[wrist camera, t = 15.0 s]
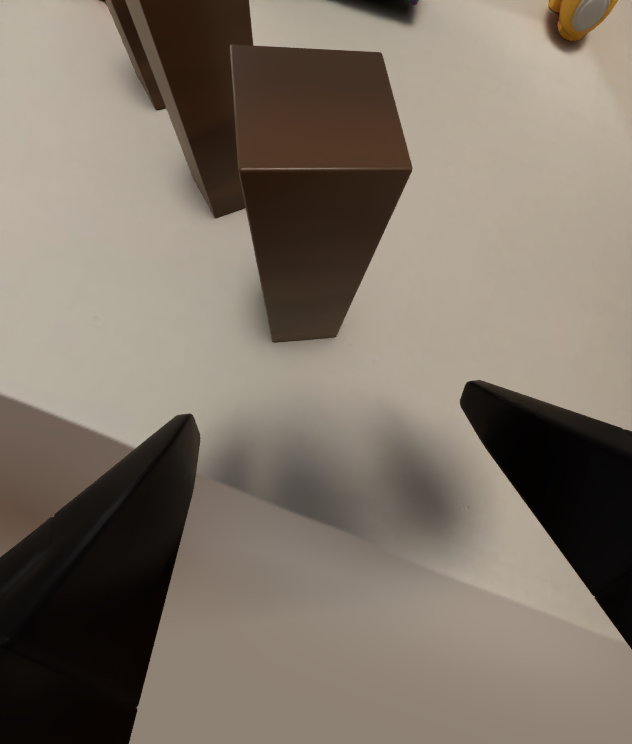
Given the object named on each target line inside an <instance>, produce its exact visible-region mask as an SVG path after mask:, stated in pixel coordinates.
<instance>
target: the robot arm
mask: <svg viewBox="0 0 632 744" xmlns="http://www.w3.org/2000/svg"><path fill="white" fill-rule="evenodd" d="M460 405H461V408H462V410H463V411H464V413H465V415H466V417H467V418H468V420H469V422H470V423H471V425H472V427H473V428H474V430H475V432H476V433H477V435H478V437H479V439H480V440H481V442H482V443H483V445H484V446H485V448H486V449H487V451H488V452H489V453H490V455H491V456H492V458H493V459H494V460H495V462H496V463H497V464H498V466H499V467H500V469H501V470H502V471H503V473H504V474H505V475H506V477H507V478H508V480H509V481H510V482H511V484H512V485H513V486H514V488H515V489H516V491H517V492H518V493H519V495H520V496H521V497H522V499H523V500H524V502H525V503H526V504H527V506H528V507H529V508H530V510H531V511H532V512H533V514H534V515H535V517H536V518H537V519H538V521H539V522H540V523H541V525H542V526H543V528H544V529H545V530H546V532H547V533H548V534H549V536H550V537H551V539H552V540H553V541H554V543H555V544H556V545H557V547H558V548H559V550H560V551H561V552H562V554H563V555H564V556H565V558H566V559H567V561H568V562H569V563H570V565H571V566H572V567H573V569H574V570H575V572H576V573H577V574H578V576H579V577H580V578H581V580H582V581H583V582H584V584H585V585H586V587H587V588H588V589H589V591H590V592H591V593H592V595H593V596H595V599H596V601H597V602H598V604H599V605H600V606H601V608H602V609H603V610H604V612H605V613H606V615H607V616H608V617H609V619H610V620H611V621H612V623H613V624H614V626H615V627H616V628H617V630H618V631H619V632H620V634H621V635H622V637H623V638H624V639H625V641H626V642H627V643H628V645H629V646H630V648H631V649H632V431H629V430H623V429H622V428H620V427H617V426H614V425H611V424H608V423H605V422H602V421H599V420H596V419H593V418H590V417H587V416H585V415H582V414H579V413H576V412H573V411H570V410H567V409H564V408H561V407H558V406H555V405H552V404H549V403H546V402H543V401H540V400H537V399H535V398H532V397H529V396H526V395H523V394H520V393H517V392H514V391H511V390H508V389H505V388H502V387H499V386H496V385H493V384H490V383H487V382H485V381H481V380H475V381H469V382H467V383H466V385H465V387H464V390H463V393H462V396H461V399H460ZM199 447H200V433H199V430H198V427H197V424H196V422H195V419H194V417H193V415H192V414H182V415H177V416H175V417H174V418H173V419H172V420H170V421H169V422H168V423H167V424H165V425H164V426H163V427H162V428H160V429H159V430H158V431H157V432H155V433H154V434H153V435H152V436H151V437H149V438H148V439H147V440H146V441H144V442H143V443H142V444H141V445H139V446H138V447H137V448H136V449H135V450H133V451H132V452H131V453H130V454H128V455H127V456H126V457H125V458H124V459H122V460H121V461H120V462H119V463H117V464H116V465H115V466H114V467H112V468H111V469H110V470H109V471H107V472H106V473H105V474H104V475H102V476H101V477H100V478H99V479H98V480H97V481H95V482H94V483H93V484H91V485H90V486H89V487H88V488H86V489H85V490H84V491H83V492H81V493H80V494H79V495H78V496H77V497H75V498H74V499H73V500H72V501H70V502H69V503H68V504H67V505H65V506H64V507H63V508H62V509H61V510H59V511H58V512H57V513H56V514H55V515H54V517H51V518H49V519H48V520H47V521H46V522H45V523H43V524H42V525H41V526H40V527H38V528H37V529H36V530H35V531H33V532H32V533H31V534H29V535H28V536H27V537H26V538H24V539H23V540H22V541H21V542H20V543H18V544H17V545H16V546H14V547H13V548H12V549H10V550H9V551H8V552H7V553H5V554H4V555H3V556H2V557H0V744H129V741H130V736H131V733H132V729H133V725H134V721H135V717H136V713H137V708H136V707H137V706H138V704H139V701H140V697H141V693H142V689H143V685H144V681H145V677H146V673H147V669H148V665H149V662H150V658H151V653H152V649H153V646H154V642H155V638H156V634H157V630H158V626H159V623H160V619H161V615H162V611H163V607H164V603H165V599H166V595H167V591H168V587H169V583H170V580H171V576H172V572H173V568H174V564H175V560H176V556H177V552H178V548H179V545H180V541H181V537H182V533H183V529H184V525H185V521H186V517H187V513H188V509H189V505H190V502H191V498H192V493H193V489H194V483H195V477H196V469H197V462H198V454H199Z"/></svg>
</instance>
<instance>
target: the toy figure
mask: <svg viewBox="0 0 632 744" xmlns="http://www.w3.org/2000/svg"><path fill="white" fill-rule="evenodd" d="M617 1H618V0H550V3H549V7H550V8H551V9H552V10H553V11H555V12H557V13H560V16H559V22H558V29H559V32H560V34H561V36H562V37H563V38H565V39H567V40H572V41H575V40H581V39H582V38H583V37H584V36H585V35H586V34H587V33H589V32H590V31H591V30H593V29H594V28H595V27H597V26H598V25H599V24H600V23H601V22H602V21H603V20H604V19H605V18H606V17H607V16H608V14H609V13H610V12H611V11H612V9H613V7H614V6H615V4H616V3H617Z"/></svg>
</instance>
